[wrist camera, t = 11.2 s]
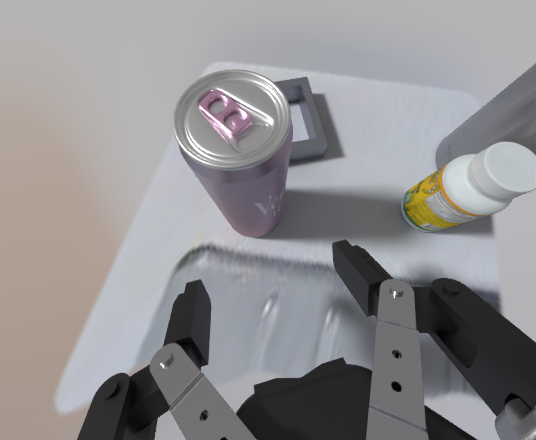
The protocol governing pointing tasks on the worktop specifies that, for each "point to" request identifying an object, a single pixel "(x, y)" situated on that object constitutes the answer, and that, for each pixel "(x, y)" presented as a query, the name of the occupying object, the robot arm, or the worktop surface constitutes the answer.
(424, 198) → the supplement bottle
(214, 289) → the worktop surface
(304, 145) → the collar
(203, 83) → the beverage can
